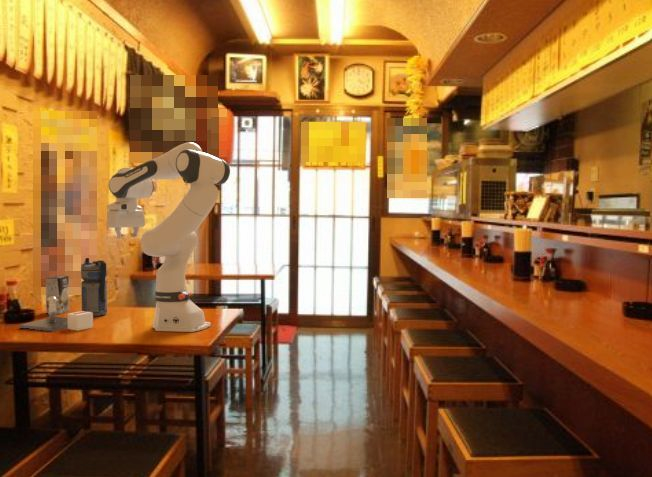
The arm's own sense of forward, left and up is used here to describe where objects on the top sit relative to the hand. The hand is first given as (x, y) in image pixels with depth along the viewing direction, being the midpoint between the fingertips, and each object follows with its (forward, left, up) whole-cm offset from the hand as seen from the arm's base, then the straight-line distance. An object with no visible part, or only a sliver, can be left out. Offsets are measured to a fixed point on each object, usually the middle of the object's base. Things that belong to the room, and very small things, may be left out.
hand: (127, 237), depth 216 cm
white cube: (+1, +26, -34) cm, 43 cm away
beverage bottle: (+14, +4, -34) cm, 37 cm away
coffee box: (+35, +4, -34) cm, 49 cm away
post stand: (+15, +26, -34) cm, 45 cm away
